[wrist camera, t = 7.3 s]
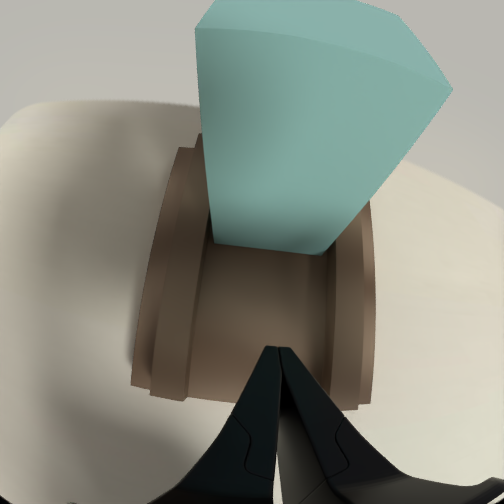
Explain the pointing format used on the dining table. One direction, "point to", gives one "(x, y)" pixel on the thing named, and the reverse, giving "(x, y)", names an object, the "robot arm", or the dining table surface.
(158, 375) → the chute
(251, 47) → the block
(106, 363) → the dining table surface
